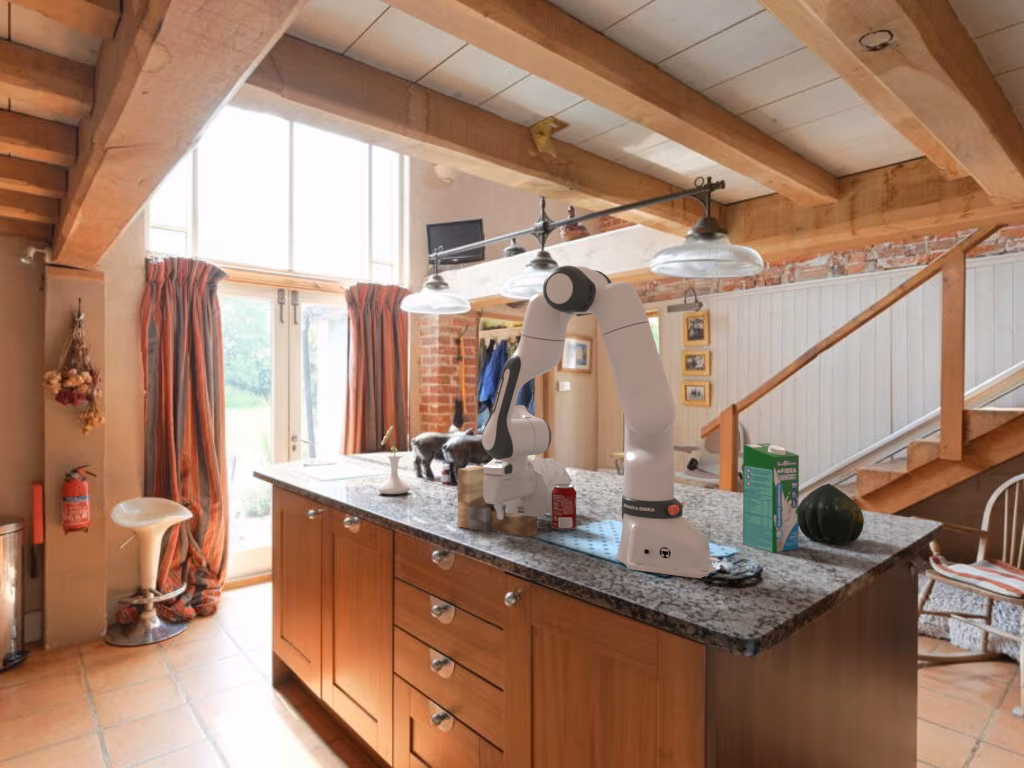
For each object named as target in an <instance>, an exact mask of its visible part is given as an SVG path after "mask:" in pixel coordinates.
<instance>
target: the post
mask: <svg viewBox="0 0 1024 768" xmlns="http://www.w3.org/2000/svg"><path fill="white" fill-rule="evenodd" d="M484 466H485V465H483V466H482V465H476V466H474V465H473V466H469V467H463V468H458V469H457V524H456V525H457V528H461V527H463V528H462V529H466V528H469V530H472V529H475V530H474V531H477V530H481V531H480V532H483V531H488V532H490V531H491V530H490V508H483V507H487V506H491V510H494V511H496V510H495V508H494V504H487V503H486V502H485V500H484V497H483V482H484V477H485V475H486V474H485V473H484V472H483V467H484ZM502 508H503V511H504V512H506V511H507V508H506V504H503V507H502ZM489 530H490V531H489Z"/></svg>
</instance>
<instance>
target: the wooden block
mask: <svg viewBox="0 0 1024 768" xmlns="http://www.w3.org/2000/svg"><path fill="white" fill-rule="evenodd" d="M483 508H490V531H491V530H494V531H493V532H497V531H500V532H499V533H502V532H506V533H505V534H508V533H511V534H510V535H513V534H517V535H516V536H519V535H522V536H521V537H525V536H527V537H526V538H531V537H534V536H536V534H537V535H538V518H537V517H533V516H526V515H520V514H513V513H507V512H506V515H505V516H506V518H505V519H502V520H500V519H497V512H496V511H494V510H491V506H487V507H483ZM533 535H534V536H533ZM530 536H531V537H530Z"/></svg>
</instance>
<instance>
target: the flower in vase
mask: <svg viewBox="0 0 1024 768" xmlns="http://www.w3.org/2000/svg"><path fill="white" fill-rule="evenodd" d="M393 428H394V426H393V425H392V426H391V425H390V427H389V429H387V431H386V434H385V435H384V437H383V440H381V442H380V444H381V446H384V445H385V444H386V442H387V441H388V439H390V440H391V443H392V446H391V448H390V450H391V452H390V455H387V458H388V459H389V462H390V466H391V467H390V468H391V469H390V470H391V471H390V476H389V477H388V478H387V479H386V480H385V481H384V482H383V483H382V484H381V485H379V486H378V488H377V489H378V492H379V493H381V494H384V495H393V496H394V495H402V494H405V493H406V494H407V493H408V492H409V491H411V487H410V486H409V484H408V483H406V482H405V481H404V480H403V479H402V478H401V477H400V476H399V473H398V467H399V463H400V462H399V461H400V459H401V458H402V454H400V455H399V454H396V453H397V452H398V451H399V450H398V448H396V446H395V443H394V440H393V438H392V437H391V433H392V431H393Z"/></svg>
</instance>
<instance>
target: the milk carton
mask: <svg viewBox="0 0 1024 768" xmlns="http://www.w3.org/2000/svg"><path fill="white" fill-rule="evenodd" d="M799 458H800V456H799V454H796V453H794V452H791V451H789V450H787V448H786V447H783V446H779V445H776V444H771V443H769V442H767V443H751V444H750V443H749V444H748V443H746V444H743V465H742V467H743V469H742V470H743V472H742V473H743V475H742V476H743V480H742V483H743V484H742V485H743V487H742V488H743V491H742V492H743V493H742V495H743V496H742V500H743V501H742V502H743V503H742V506H743V507H742V509H743V513H742V515H743V517H742V519H743V520H742V524H743V525H742V534H743V535H742V543H743V545H746V546H750V547H752V548H756V549H759V550H762V551H766V552H769V553H774V554H775V553H780V552H786V551H790V550H791V551H792V550H796V549H799V546H800V543H799V541H800V540H799V537H800V536H799V533H800V532H799V531H800V530H799V529H800V527H799V505H800V503H799V499H800V498H799V493H800V489H799V488H800V487H799V486H800V484H799V482H800V481H799V480H800V475H799V473H800V469H799V467H800V466H799V465H800V459H799Z"/></svg>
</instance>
